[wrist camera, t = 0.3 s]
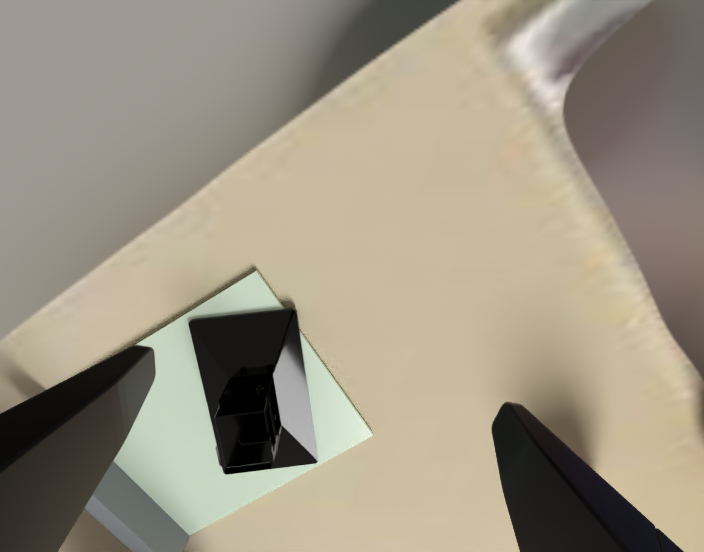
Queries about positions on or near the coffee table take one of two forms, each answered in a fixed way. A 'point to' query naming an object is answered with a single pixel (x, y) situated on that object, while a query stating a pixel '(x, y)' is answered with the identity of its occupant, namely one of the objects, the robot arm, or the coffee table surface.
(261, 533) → the coffee table surface
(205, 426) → the base plate
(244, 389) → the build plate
